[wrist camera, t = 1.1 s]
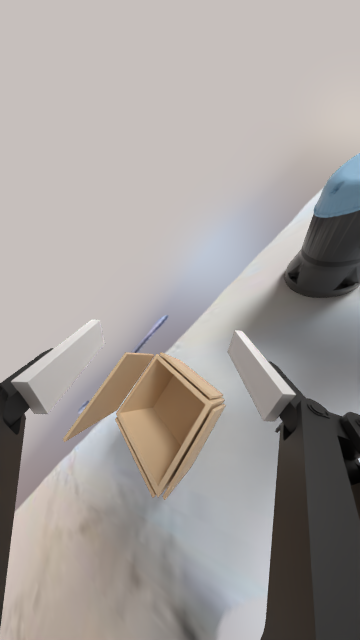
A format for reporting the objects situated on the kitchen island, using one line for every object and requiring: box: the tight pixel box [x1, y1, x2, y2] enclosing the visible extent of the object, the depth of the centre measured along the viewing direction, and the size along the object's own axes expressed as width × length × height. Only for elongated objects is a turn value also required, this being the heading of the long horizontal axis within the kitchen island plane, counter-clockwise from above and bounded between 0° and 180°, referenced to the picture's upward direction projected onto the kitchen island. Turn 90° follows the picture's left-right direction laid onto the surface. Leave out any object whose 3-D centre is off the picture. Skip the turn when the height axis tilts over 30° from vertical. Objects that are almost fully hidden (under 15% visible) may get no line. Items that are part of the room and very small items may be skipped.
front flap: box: [63, 353, 154, 442], centre depth 25 cm, size 15×1×12 cm, turn 142°
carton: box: [115, 352, 226, 500], centre depth 31 cm, size 18×17×13 cm
